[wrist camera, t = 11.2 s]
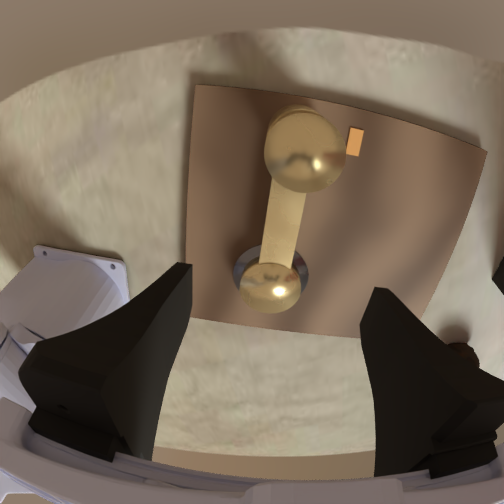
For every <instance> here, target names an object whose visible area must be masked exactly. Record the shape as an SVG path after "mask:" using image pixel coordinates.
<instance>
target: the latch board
mask: <svg viewBox="0 0 504 504" xmlns="http://www.w3.org/2000/svg"><path fill="white" fill-rule="evenodd" d="M294 104H299V105H305V106H308V107H310V108H312V109H314V110H315V111H317V112H318V113H319V114H320V115H322V116H323V117H324V118H326V119H327V120H328V121H329V122H331V123H332V124H333V125H334V126H335V127H336V128H337V129H338V131H339V132H340V134H341V135H342V137H343V139H344V142H345V146H346V162H345V165H344V168H343V170H342V172H341V174H340V176H339V177H338V178H337V179H336V180H335V181H334V182H333V183H332V184H331V185H330V186H328V187H326V188H325V189H322V190H320V191H317V192H312V193H306V198H305V203H304V208H303V213H302V218H301V223H300V227H299V232H298V237H297V242H296V246H295V251H294V255H293V260H292V263H293V264H294V265H295V266H296V267H297V269H298V271H299V274H300V282H301V294H300V297H299V299H298V301H297V302H296V303H295V304H294V305H293V306H292V307H291V308H289V309H287V310H285V311H283V312H279V313H262V312H259V311H256V310H254V309H252V308H251V307H249V306H248V305H247V304H246V303H245V302H244V301H243V299H242V297H241V295H240V281H241V276H242V272H243V269H244V267H245V266H246V265H247V263H249V262H250V261H251V260H252V259H254V258H256V257H258V256H260V250H261V244H262V237H263V231H264V224H265V218H266V212H267V205H268V199H269V192H270V186H271V179H272V176H271V174H270V173H269V171H268V169H267V166H266V164H265V159H264V147H265V142H266V137H267V131H268V126H269V123H270V120H271V118H272V117H273V116H274V114H275V113H276V112H277V111H279V110H280V109H282V108H283V107H286V106H289V105H294ZM486 155H487V151H485V150H483V149H481V148H479V147H476V146H474V145H471V144H469V143H466V142H464V141H461V140H459V139H456V138H454V137H451V136H448V135H445V134H443V133H440V132H437V131H434V130H431V129H428V128H425V127H422V126H419V125H416V124H413V123H410V122H407V121H403V120H400V119H397V118H393V117H390V116H386V115H382V114H379V113H375V112H371V111H367V110H363V109H359V108H355V107H351V106H347V105H342V104H338V103H333V102H328V101H323V100H318V99H313V98H308V97H302V96H296V95H290V94H284V93H277V92H270V91H263V90H255V89H246V88H237V87H226V86H214V85H195V95H194V106H193V117H192V129H191V143H190V158H189V175H188V194H187V220H186V263H187V264H193V306H192V310H191V314H190V317H193V318H199V319H205V320H211V321H218V322H224V323H231V324H237V325H244V326H251V327H259V328H266V329H274V330H282V331H290V332H299V333H308V334H318V335H328V336H338V337H350V338H361V337H360V326H359V324H360V322H361V319H362V317H363V314H364V312H365V310H366V307H367V305H368V302H369V300H370V297H371V294H372V292H373V289H374V287H382V288H388V289H389V290H391V291H392V292H393V293H394V294H395V295H396V296H397V297H398V298H399V299H400V300H401V301H402V302H403V303H404V304H405V305H406V306H407V308H408V309H409V310H410V311H411V312H412V313H413V314H414V315H415V316H416V317H417V318H418V319H419V320H420V319H421V317H422V315H423V313H424V311H425V309H426V307H427V306H428V304H429V302H430V300H431V298H432V296H433V294H434V292H435V290H436V288H437V286H438V283H439V281H440V279H441V277H442V275H443V273H444V271H445V268H446V266H447V264H448V262H449V260H450V257H451V255H452V253H453V250H454V248H455V245H456V243H457V241H458V238H459V236H460V233H461V231H462V228H463V225H464V223H465V220H466V218H467V215H468V212H469V209H470V206H471V204H472V201H473V198H474V195H475V192H476V189H477V186H478V183H479V179H480V176H481V173H482V169H483V166H484V162H485V159H486Z"/></svg>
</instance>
